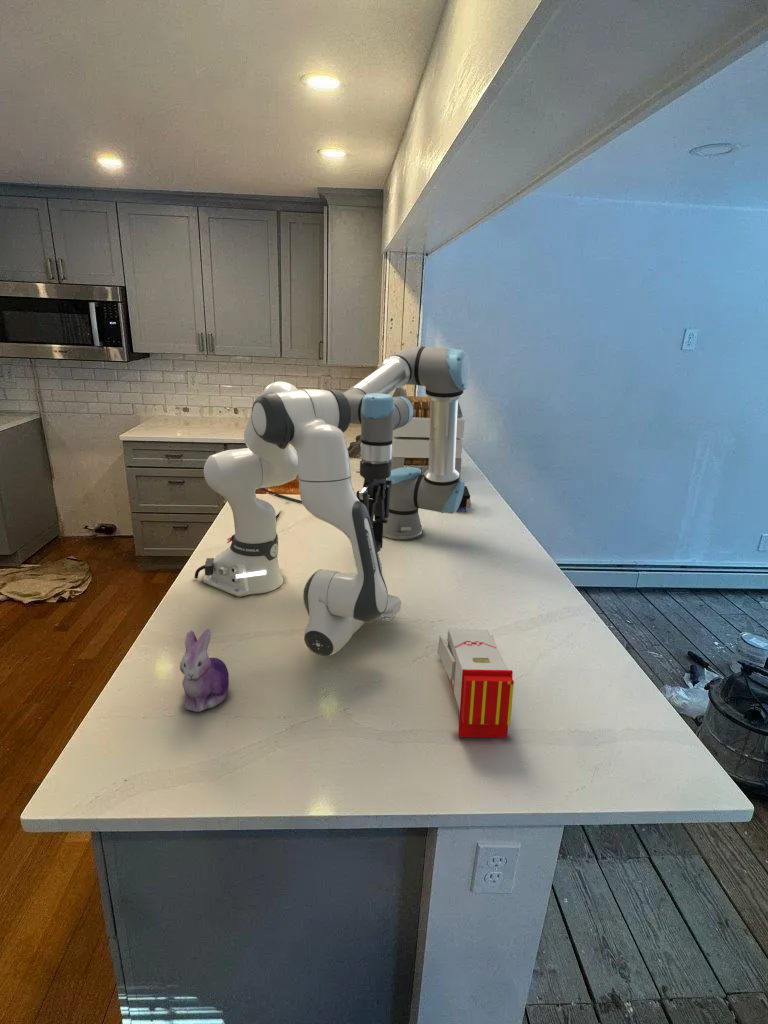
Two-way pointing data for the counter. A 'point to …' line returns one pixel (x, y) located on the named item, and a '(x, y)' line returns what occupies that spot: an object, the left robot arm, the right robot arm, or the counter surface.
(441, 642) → the toy
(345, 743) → the counter surface
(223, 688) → the figurine
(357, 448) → the fossil
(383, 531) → the right robot arm
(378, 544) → the cap
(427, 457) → the gray slatted crate
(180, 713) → the counter surface
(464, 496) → the figurine character
